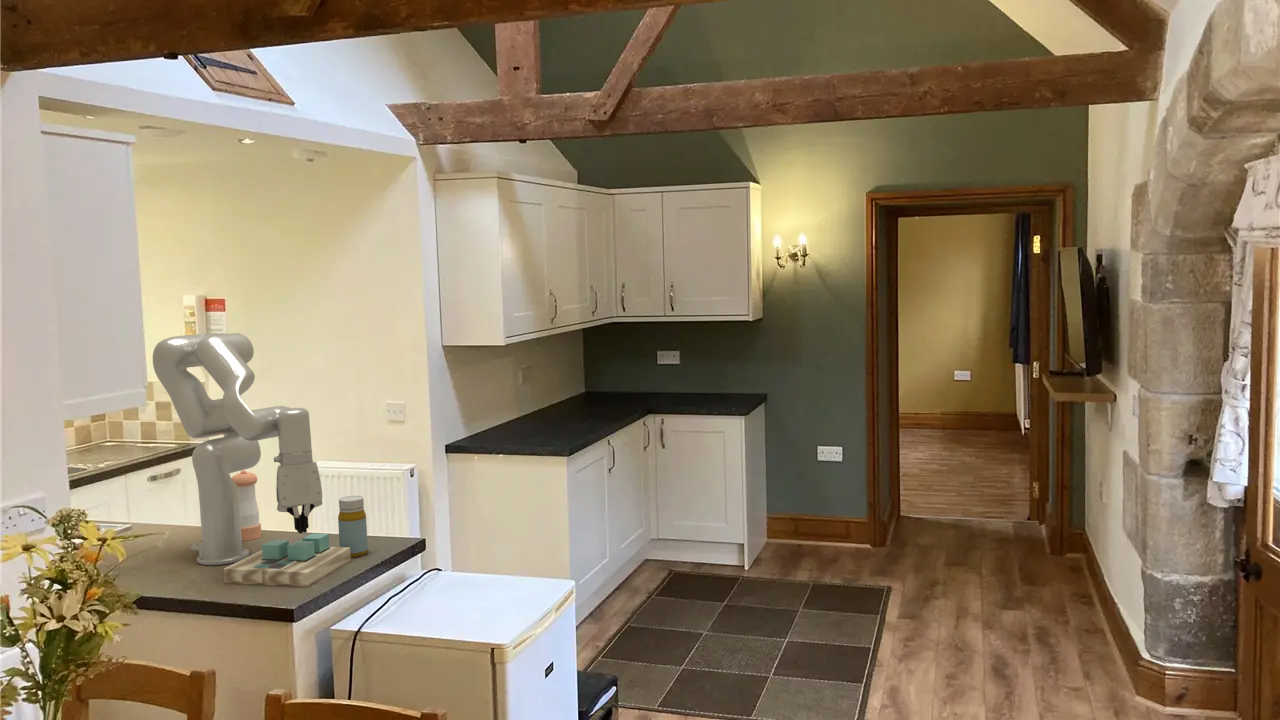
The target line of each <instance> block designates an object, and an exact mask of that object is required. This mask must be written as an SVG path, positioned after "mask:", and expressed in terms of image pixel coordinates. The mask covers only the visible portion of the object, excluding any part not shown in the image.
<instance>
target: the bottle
mask: <svg viewBox="0 0 1280 720" xmlns="http://www.w3.org/2000/svg"><path fill="white" fill-rule="evenodd" d="M364 501H365V500H364V497H363V496H362V495H347V496H346V495H345V496H342V497H340V498H339V499H338V507H339V510H338V511H339V513H338V516H337V520H338V521H337V523H338V524H337V525H338V540H339V541H338V542H339V547H350V554H351V559H352V558H353V559H354V558H359V557H363V556H365V555H366V554H367V553H368V551H369V550H368V549H369V546H368V544H369V543H368V530H367V529H368V527H367V514H366V512H365V510H364V509H365V508H364V507H365V505H364Z"/></svg>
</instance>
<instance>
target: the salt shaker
mask: <svg viewBox="0 0 1280 720" xmlns="http://www.w3.org/2000/svg"><path fill="white" fill-rule="evenodd" d="M231 478H232V479H233V481H234V482H235V484H236V485H237V488H238V492H239V505H240V520H241V536H242V542H244V541H251V540H252V541H253V540H257V539H259V538H261V537H262V525H261V522H260V510H259V507H258V502H257V498H256V495H257V494H256V484H257V482H258V476H257V475H256V474H255V473H253V472H247V470H246V469H245V470H241V471H239V473H236V474H234V475H233V476H231Z"/></svg>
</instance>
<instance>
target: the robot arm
mask: <svg viewBox="0 0 1280 720" xmlns="http://www.w3.org/2000/svg"><path fill="white" fill-rule="evenodd" d="M253 357H254V345H253V343H252V342H251V340H250V339H249V338H248V337H247V336H246V335H245V334H242V333H239V332H232V333H225V332H224V333H222V332H219V333H218V332H217V333H201V334H199V333H198V334H186V335H176V336H171V337H167V338H164V339H162V340H160V341H159V342H158V343H157V344H156V345H155V347H154V349H153V352H152V367H153V369H154V370H153V371H154V373H155V375H156V378H158V381H159V382H160V383H161V385H162V387H163V388H164V389H165V390H166V393H167V394H168V396H169V398H170V400H171V401H172V405H173V406H174V409H175V411H176V414H177V416H178V418H179V421H180V422H181V425H182V427H183V428H184V430H185V433H186V434H187V435H188V436H189V437H190V438H192V439H206V438H211V437H217V436H221V435H222V437H217V438H213V439H208V440H205V441H203V442H201V443H199V444H198V445H197V446H196V447H195V448H194V449H193V451H192V455H191V460H192V461H191V462H192V466H193V470H194V473H195V477H196V482H197V489H198V501H199V512H200V513H199V514H200V526H201V541H193V543H192V544H191V546H190V551H191V552H199V554H198V555H197V557H196V561H197V563H198V564H199V565H205V566H219V565H221V566H222V565H226V564H227V565H228V564H234V563H237V562H239V561H241V560H243V559H245V558H247V557H249V556H250V552H249V550H248V549H247V548H245V547H243V541H242V536H241V520H240V505H239V492H238V488H237V485H236V484H235V482H234V481H233V479H232V476H231V475H230V474H233V473H236V472H241V471H242V470H245V471H246V470H249V469H251V468H254V467H255V466H256V465H258V463H259V462H260V460H261V457H262V456H261V455H262V453H261V445H260V442H259V441H262V440H266V439H274V438H278V451H279V453H278V455H277V456H274V457H273V462H274V463H279V465H277V471H276V484H275V485H276V487H275V488H276V489H275V490H276V493H275V494H276V501H277V507H276V509H277V510H276V511H278V512H279V513H289V514H290V515H291V516H292V517H293V522H294V523H293V524H294V529H295V531H297V532H298V534H303V533H304V534H306V533H308V530H307V529H309V527H310V526H309V515H310V514H311V512H312V511H313V510H314V509H315V508H317V507H320V506H322V505H323V501H322V500H323V489H322V482H321V476H320V471H319V467H318V463H317V462H316V461H314V460H313V451H312V450H313V449H312V448H313V447H312V437H311V436H312V435H311V434H312V433H311V423H310V422H311V421H310V413H309V411H308V409H306V408H303V407H288V406H284V405H277V406H270V407H263V408H258V409H257V408H256V409H250V408H249V407H248V405H247V404H246V403H245V402H244V400H243V399H242V397H241V396H242V395H243V394H244V393H246V392H247V391H248V390H249V389H250V388H251V387H252V386H253V384H254V382H255V379H256V375H255V373H254V371H253V370H252V369H251V367H250V366H249V365H248V363H249V362H251V361H252V359H253ZM197 367H203V368H204V369H205V371H207V373H208V374H209V375H210V376H211V377H212V379H213V380H214V382H215V383H216V384H217V385H218V386H219V387H220V389H221V390H222V392H223V395H222V398H217V399H212V398H210V396H209V395H208V393H207V391H206V389H205V386H204V384H203V383H202V382H201V380H200V379H199V378H198V377H197V376H195V375H194V374H192V372H189V370H188V368H197ZM299 506H301V512H300V511H299Z"/></svg>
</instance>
